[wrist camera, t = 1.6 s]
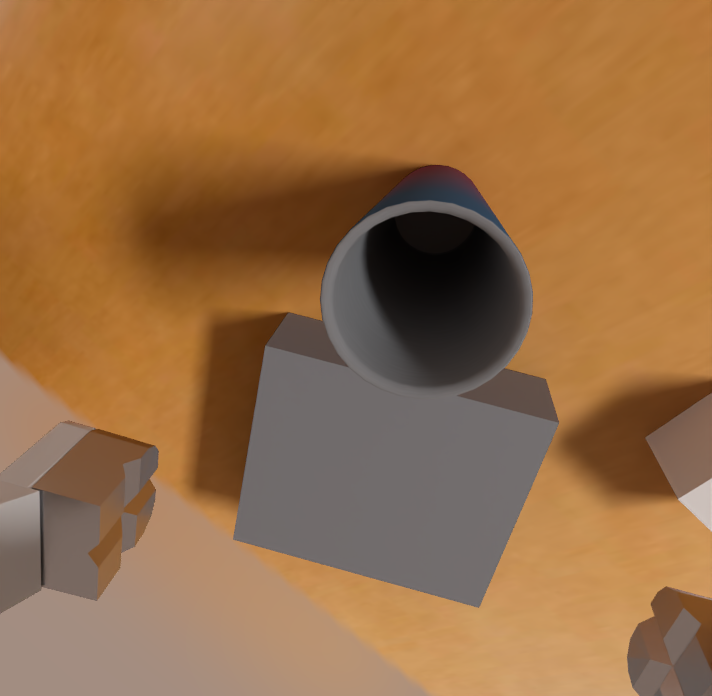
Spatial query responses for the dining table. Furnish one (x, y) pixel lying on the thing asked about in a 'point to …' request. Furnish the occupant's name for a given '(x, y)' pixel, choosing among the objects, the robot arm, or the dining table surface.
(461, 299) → the cup
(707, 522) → the white cube
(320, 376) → the plinth
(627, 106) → the dining table surface
